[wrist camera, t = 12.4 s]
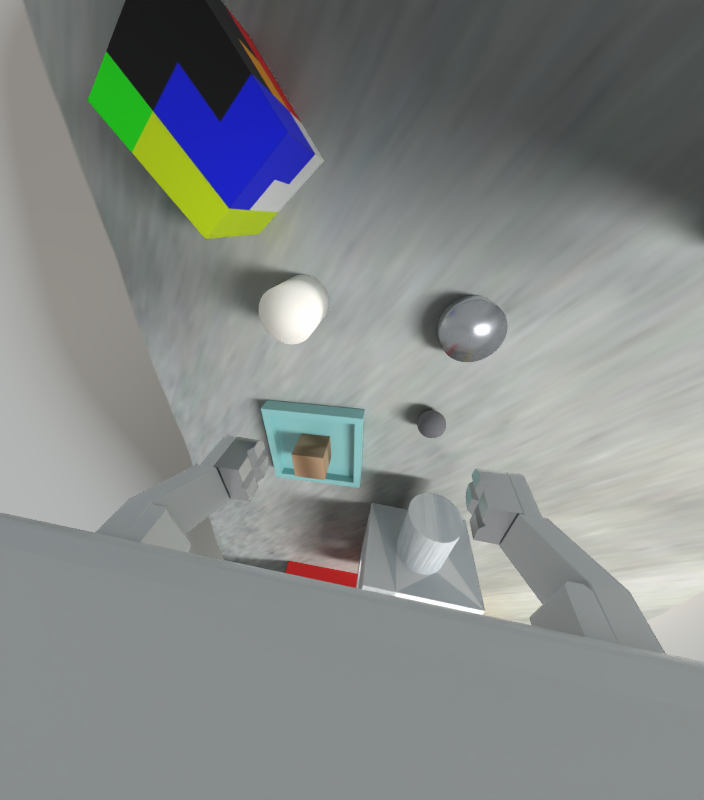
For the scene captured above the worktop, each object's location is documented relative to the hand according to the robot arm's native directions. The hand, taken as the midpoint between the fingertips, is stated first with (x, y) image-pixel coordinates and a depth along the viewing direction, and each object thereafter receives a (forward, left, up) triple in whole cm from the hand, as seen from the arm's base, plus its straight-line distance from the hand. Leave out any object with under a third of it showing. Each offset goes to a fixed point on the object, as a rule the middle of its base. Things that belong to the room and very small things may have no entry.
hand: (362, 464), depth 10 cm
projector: (-9, +48, -26) cm, 55 cm away
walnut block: (+10, +24, -25) cm, 36 cm away
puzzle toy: (+14, -13, -26) cm, 33 cm away
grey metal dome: (-10, +3, -26) cm, 28 cm away
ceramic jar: (+10, +1, -26) cm, 28 cm away
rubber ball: (-8, +17, -24) cm, 30 cm away
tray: (+10, +25, -26) cm, 37 cm away
